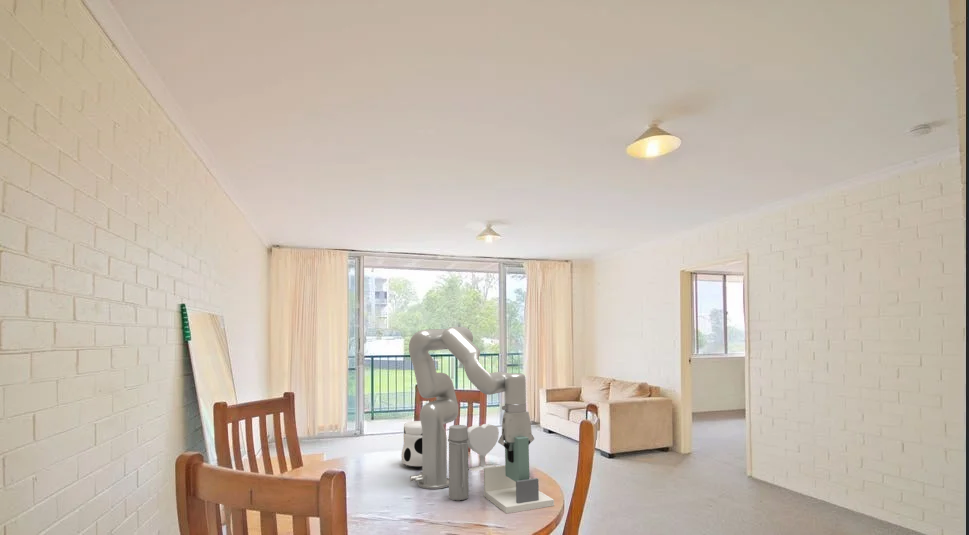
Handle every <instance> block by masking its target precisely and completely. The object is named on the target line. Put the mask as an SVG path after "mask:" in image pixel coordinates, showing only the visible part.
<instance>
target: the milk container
mask: <svg viewBox="0 0 969 535" xmlns="http://www.w3.org/2000/svg"><path fill="white" fill-rule="evenodd" d="M401 462H402V464H403V466H406V467H408V468H413V469H422V426H421V420H413V421H408V422H406V423H404V425H403V445H402V450H401Z"/></svg>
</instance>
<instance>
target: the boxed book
mask: <svg viewBox="0 0 969 535" xmlns="http://www.w3.org/2000/svg"><path fill="white" fill-rule="evenodd" d="M504 442H505V443H507V441H505V440H504ZM529 447H530V444H529V438H528V437H525V436H524V437H515V442H514V443H513V447H512V451H513V455H514V462H513V463H511V462H509V461H508V459H507V449H506V448H505V447H504V457H505V458H504V460H505V461H504V463H505V464H504V465H505V471H506V476H507V477H509V478H510V479H512V480H514V481H515V482H516V481H519V480H526V479H529V478H530V448H529Z"/></svg>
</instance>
